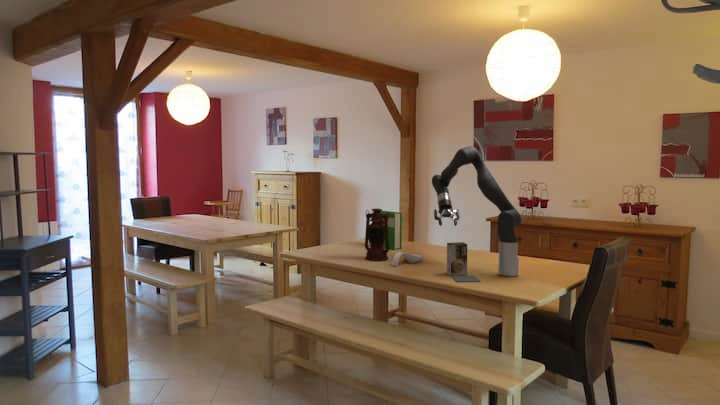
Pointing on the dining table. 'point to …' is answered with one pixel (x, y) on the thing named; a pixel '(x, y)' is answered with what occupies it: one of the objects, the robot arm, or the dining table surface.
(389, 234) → the hardback book
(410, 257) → the spoon rest
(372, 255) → the lantern
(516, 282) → the dining table surface
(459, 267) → the coffee box
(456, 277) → the mat
